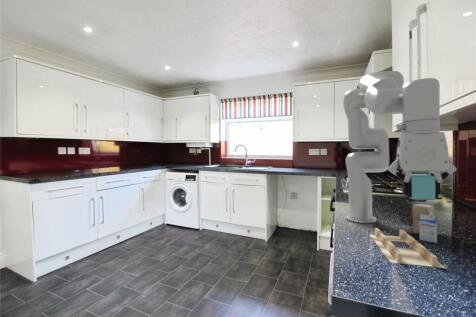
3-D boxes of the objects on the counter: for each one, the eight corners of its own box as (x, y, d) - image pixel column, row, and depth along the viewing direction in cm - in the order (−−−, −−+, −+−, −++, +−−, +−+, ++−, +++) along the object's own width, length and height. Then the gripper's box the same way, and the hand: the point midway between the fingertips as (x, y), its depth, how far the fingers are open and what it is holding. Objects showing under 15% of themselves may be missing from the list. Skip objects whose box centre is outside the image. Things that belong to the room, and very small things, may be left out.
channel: (369, 238, 81) (369, 227, 81) (408, 241, 77) (408, 229, 77) (390, 267, 60) (390, 252, 60) (445, 273, 56) (445, 258, 56)
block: (404, 174, 63) (411, 176, 58) (425, 174, 61) (435, 176, 57) (404, 195, 63) (411, 199, 58) (425, 195, 61) (435, 199, 57)
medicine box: (419, 237, 81) (419, 213, 81) (436, 240, 78) (435, 215, 78) (419, 244, 75) (419, 218, 75) (437, 247, 72) (437, 220, 72)
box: (412, 233, 84) (412, 204, 84) (417, 231, 87) (417, 203, 87) (430, 237, 80) (429, 207, 80) (434, 235, 82) (434, 205, 82)
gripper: (387, 128, 58) (387, 198, 58) (471, 124, 52) (471, 201, 53) (379, 131, 65) (379, 193, 65) (452, 127, 59) (452, 195, 60)
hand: (420, 196), depth 59 cm, fingers closed on block, 5 cm apart
